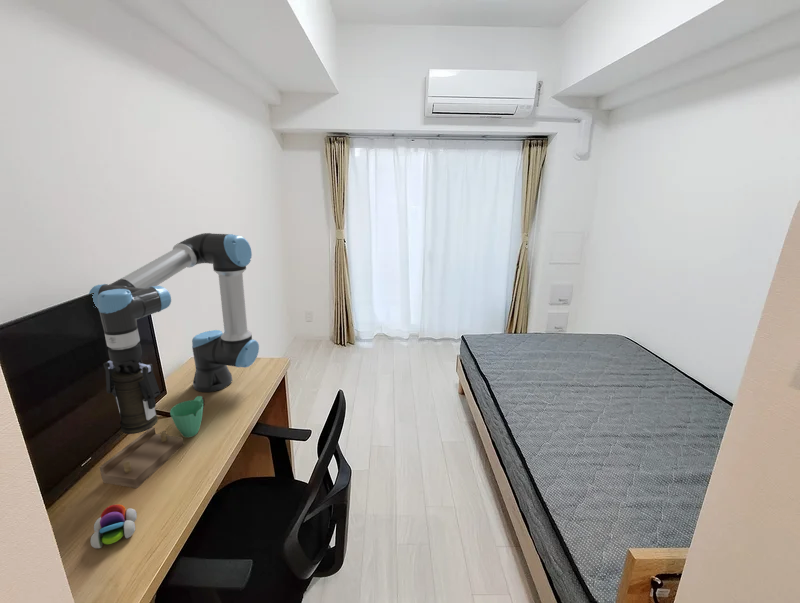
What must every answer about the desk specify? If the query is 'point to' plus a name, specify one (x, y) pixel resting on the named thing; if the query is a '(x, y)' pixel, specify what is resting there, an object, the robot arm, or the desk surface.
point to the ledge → (140, 459)
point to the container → (131, 403)
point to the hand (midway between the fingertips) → (138, 415)
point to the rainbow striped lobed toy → (113, 525)
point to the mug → (188, 416)
